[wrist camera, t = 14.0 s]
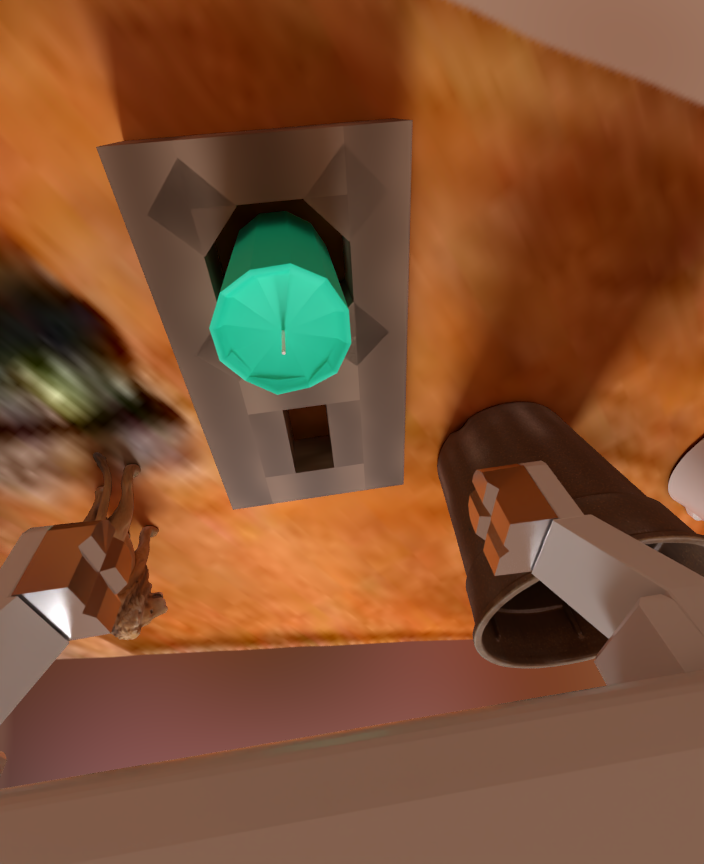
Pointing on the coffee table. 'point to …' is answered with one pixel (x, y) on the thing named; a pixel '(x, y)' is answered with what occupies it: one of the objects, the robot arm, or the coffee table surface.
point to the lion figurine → (137, 593)
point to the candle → (281, 307)
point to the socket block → (362, 287)
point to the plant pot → (523, 592)
